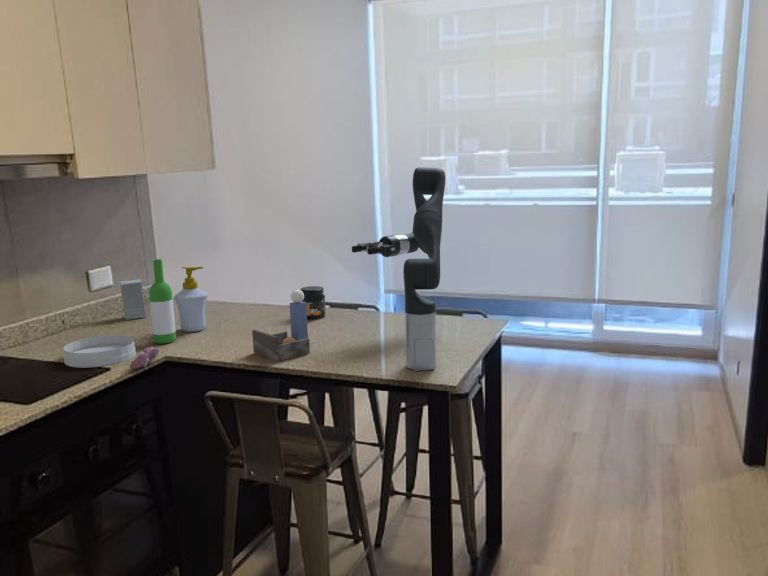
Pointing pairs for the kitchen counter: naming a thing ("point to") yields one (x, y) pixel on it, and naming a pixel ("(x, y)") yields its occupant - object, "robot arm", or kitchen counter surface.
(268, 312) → the kitchen counter surface
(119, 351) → the dish
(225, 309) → the kitchen counter surface
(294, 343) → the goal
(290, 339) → the ball
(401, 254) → the robot arm
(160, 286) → the wine bottle
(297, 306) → the figure
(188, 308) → the soap bottle
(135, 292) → the skincare box
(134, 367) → the video game controller
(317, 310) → the supplement container
